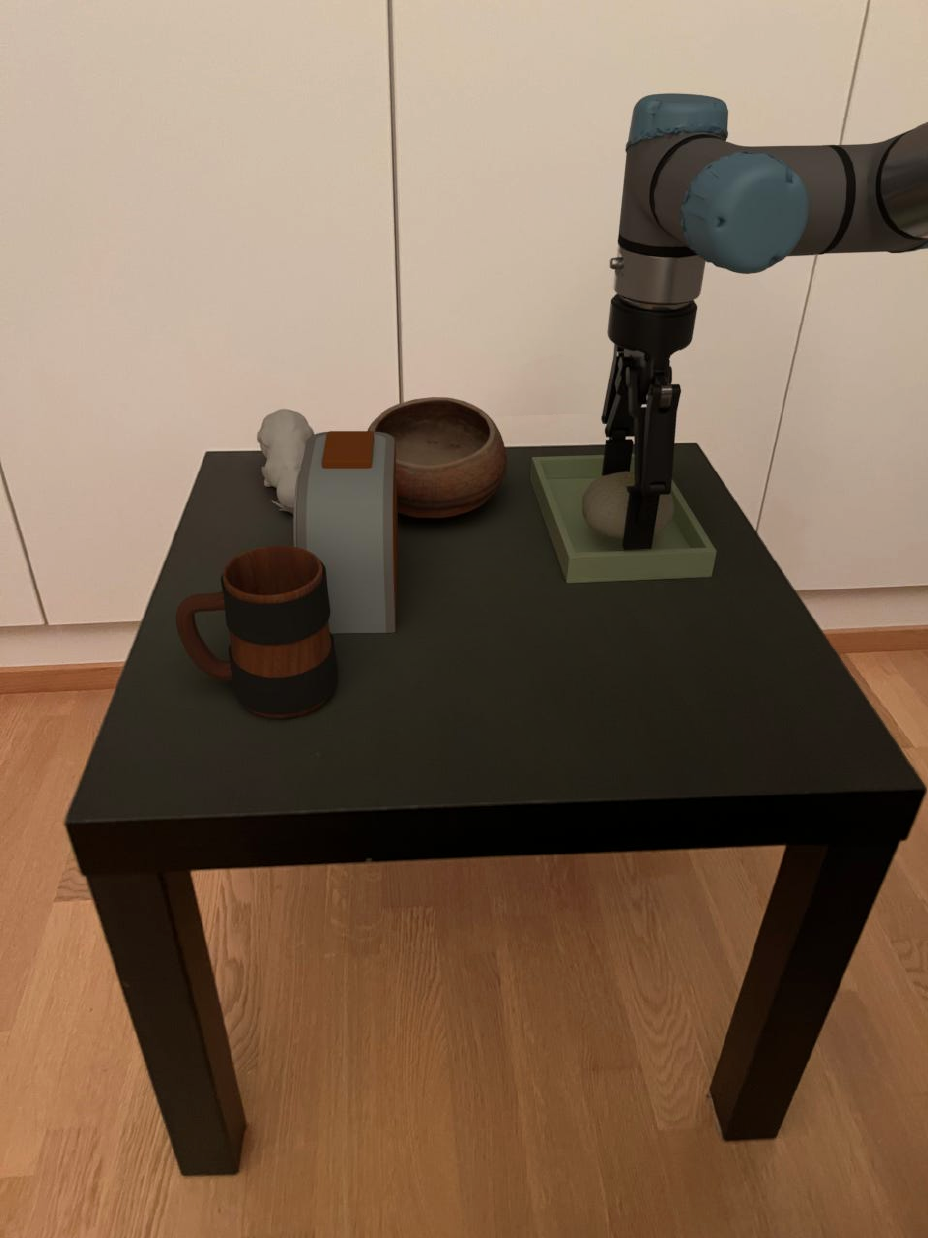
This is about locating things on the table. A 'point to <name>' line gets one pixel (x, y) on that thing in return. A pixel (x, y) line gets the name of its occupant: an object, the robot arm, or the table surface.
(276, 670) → the mug
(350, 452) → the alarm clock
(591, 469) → the tray
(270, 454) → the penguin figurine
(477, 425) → the bowl
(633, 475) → the sea urchin shell
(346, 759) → the table surface
